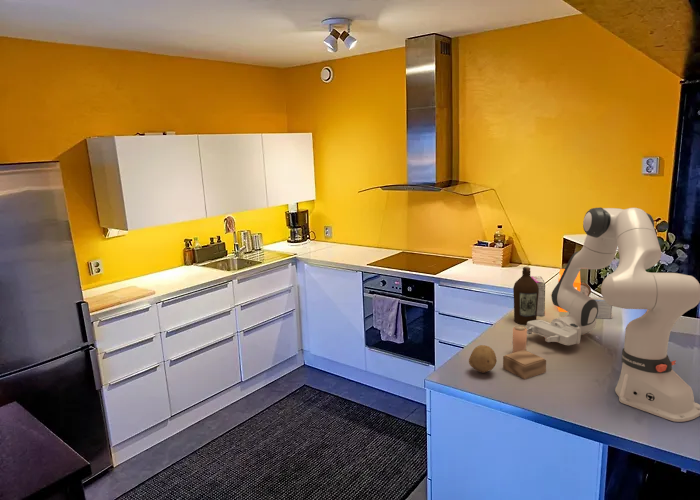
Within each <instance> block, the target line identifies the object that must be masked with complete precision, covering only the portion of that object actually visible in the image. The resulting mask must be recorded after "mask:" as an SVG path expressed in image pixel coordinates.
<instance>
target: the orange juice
mask: <svg viewBox="0 0 700 500" xmlns="http://www.w3.org/2000/svg"><path fill="white" fill-rule="evenodd" d="M564 270H565V268H560V269H559V272H558V273H559V274H558V278H557V279H558V281H557V283H558V282H559V280H560V278H561V276H562V274H563V272H564ZM580 282H581V270H580V271H579V273H578V275H577V277H576V279H575V281H574V283H573V286H574V288H575V289H576V290H578V291H580V284H581V283H580ZM556 308H557V309H558V312H563V313H568V312H567V311H565V310H564V309H562V308H560V307H558V306H556Z"/></svg>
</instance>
